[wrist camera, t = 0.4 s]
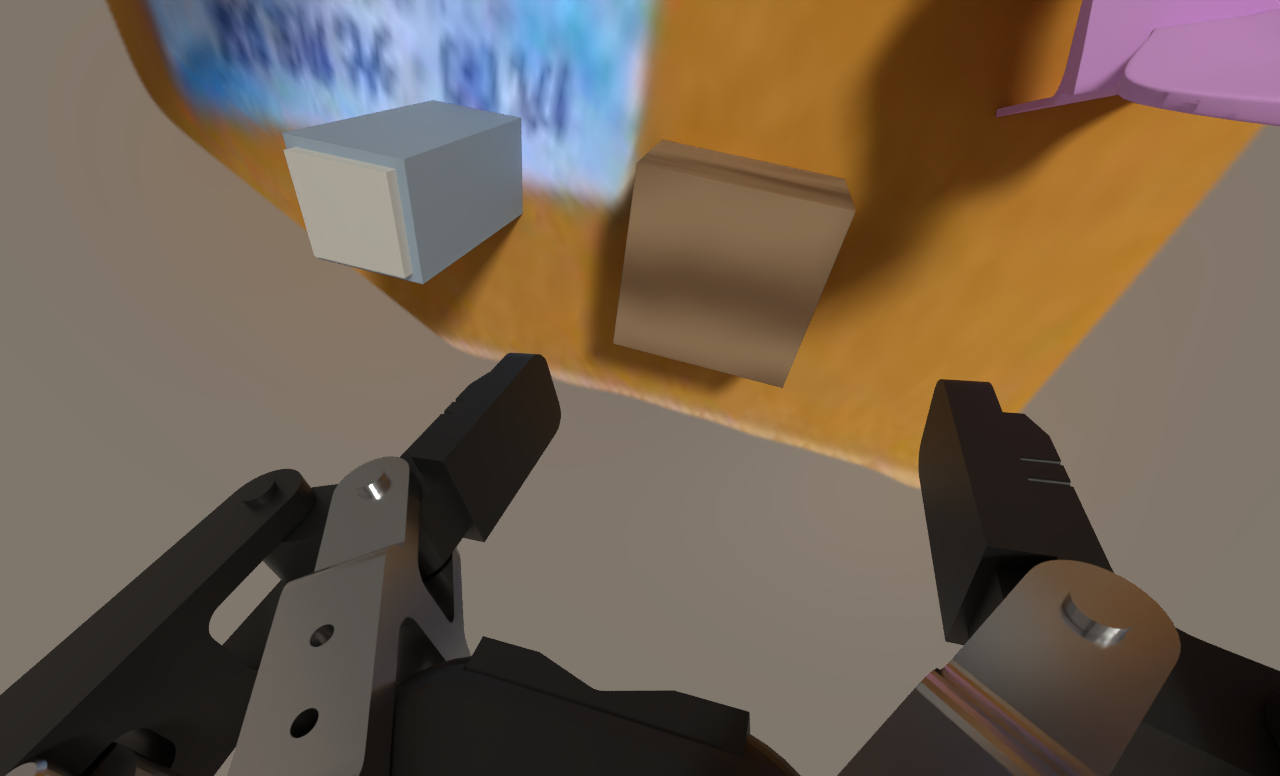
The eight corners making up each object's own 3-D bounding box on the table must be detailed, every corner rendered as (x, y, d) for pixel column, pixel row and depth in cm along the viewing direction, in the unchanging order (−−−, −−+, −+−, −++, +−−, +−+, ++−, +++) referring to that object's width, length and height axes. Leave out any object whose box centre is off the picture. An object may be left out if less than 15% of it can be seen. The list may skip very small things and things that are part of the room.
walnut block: (663, 138, 27) (636, 162, 23) (844, 177, 26) (855, 211, 22) (637, 298, 34) (613, 343, 29) (783, 335, 33) (782, 388, 28)
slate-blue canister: (433, 100, 29) (270, 135, 20) (520, 117, 28) (394, 162, 19) (443, 195, 32) (308, 263, 23) (522, 213, 32) (415, 289, 23)
